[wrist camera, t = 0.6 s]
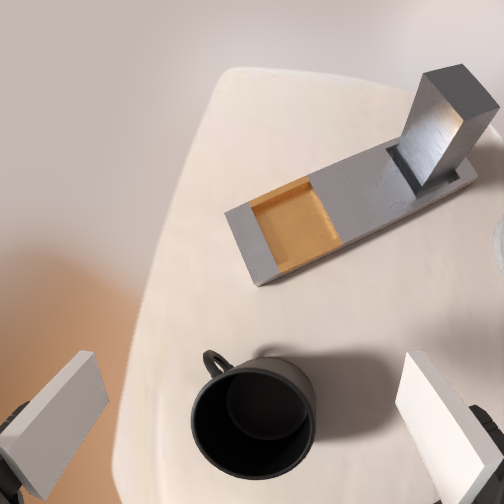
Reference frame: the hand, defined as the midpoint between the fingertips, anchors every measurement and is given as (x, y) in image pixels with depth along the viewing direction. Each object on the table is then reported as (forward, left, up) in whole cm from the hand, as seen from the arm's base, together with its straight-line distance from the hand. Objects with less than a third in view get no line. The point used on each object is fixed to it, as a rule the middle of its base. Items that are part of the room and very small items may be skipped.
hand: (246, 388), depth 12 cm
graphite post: (+11, -22, -19) cm, 31 cm away
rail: (+11, -14, -19) cm, 26 cm away
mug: (-3, +4, -19) cm, 20 cm away
